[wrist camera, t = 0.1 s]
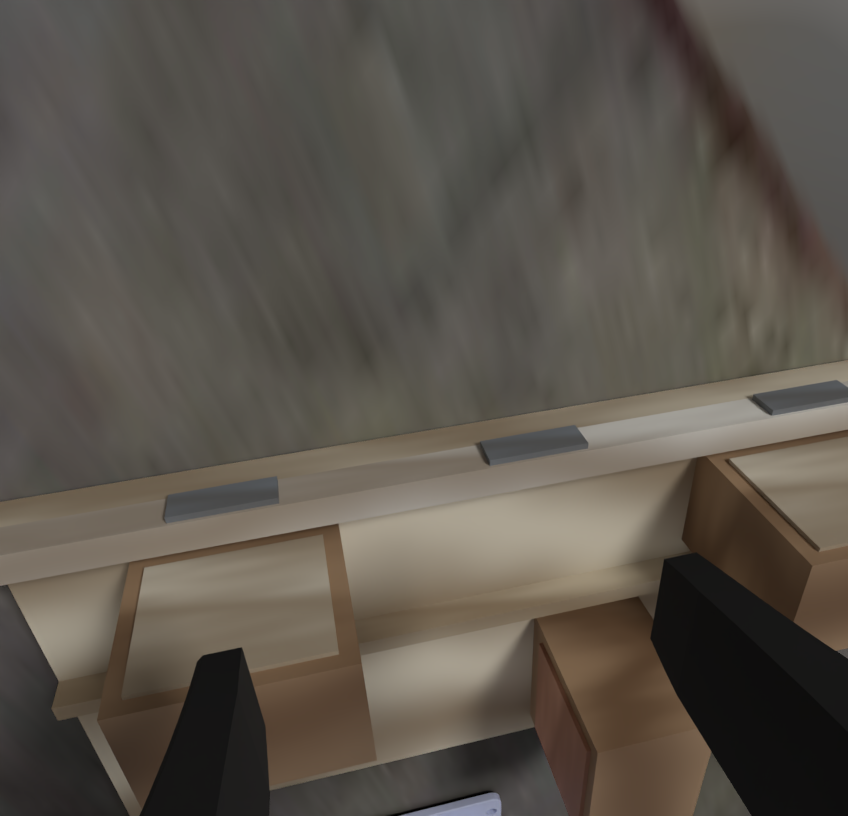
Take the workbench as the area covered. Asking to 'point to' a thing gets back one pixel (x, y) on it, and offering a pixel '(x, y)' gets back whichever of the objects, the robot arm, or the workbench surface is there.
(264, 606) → the faced block
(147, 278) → the workbench surface
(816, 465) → the faced block
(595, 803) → the turned block
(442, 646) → the long shallow wooden tray
